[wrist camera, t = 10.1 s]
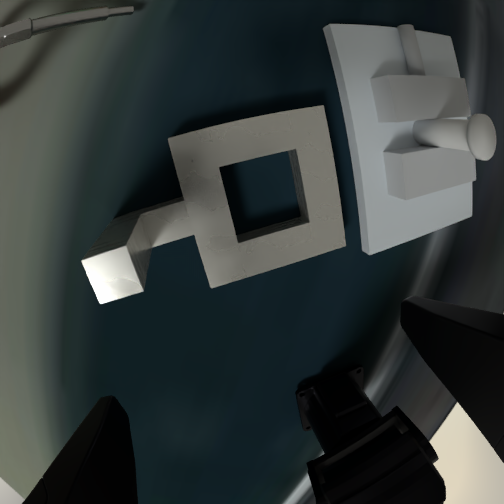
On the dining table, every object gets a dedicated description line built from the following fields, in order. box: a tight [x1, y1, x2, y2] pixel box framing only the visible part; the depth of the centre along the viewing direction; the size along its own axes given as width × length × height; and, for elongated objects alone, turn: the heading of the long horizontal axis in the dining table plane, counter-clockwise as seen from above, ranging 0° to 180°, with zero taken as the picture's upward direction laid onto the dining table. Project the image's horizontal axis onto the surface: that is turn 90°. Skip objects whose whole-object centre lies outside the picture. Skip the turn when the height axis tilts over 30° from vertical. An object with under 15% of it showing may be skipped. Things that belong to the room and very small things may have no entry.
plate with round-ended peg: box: [323, 24, 496, 255], centre depth 17 cm, size 16×12×7 cm
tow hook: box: [0, 6, 134, 48], centre depth 12 cm, size 7×10×7 cm
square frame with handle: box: [81, 105, 346, 304], centre depth 15 cm, size 14×9×7 cm, turn 103°
